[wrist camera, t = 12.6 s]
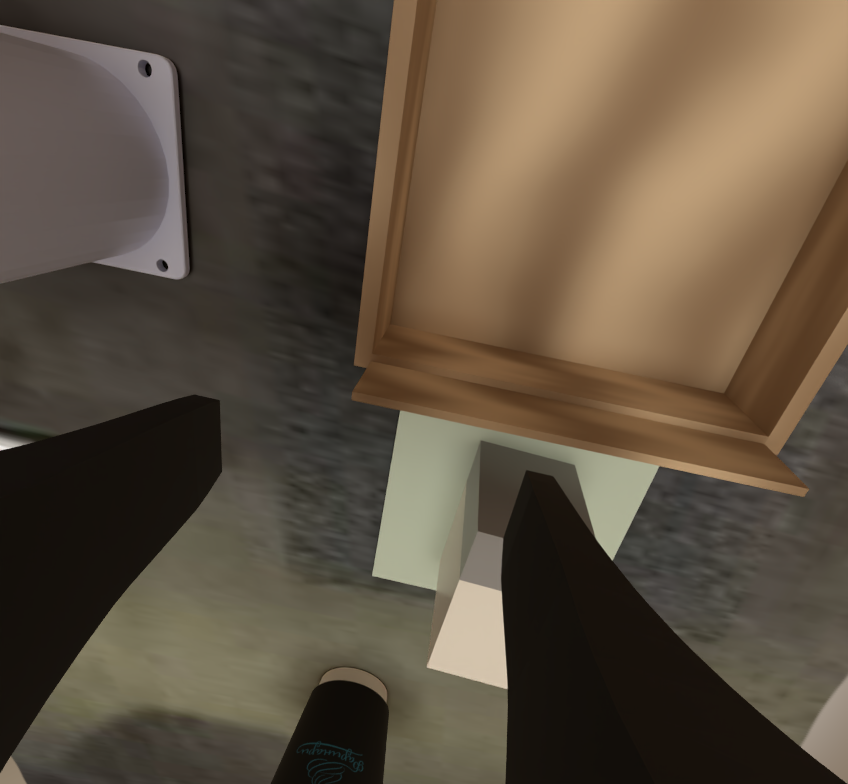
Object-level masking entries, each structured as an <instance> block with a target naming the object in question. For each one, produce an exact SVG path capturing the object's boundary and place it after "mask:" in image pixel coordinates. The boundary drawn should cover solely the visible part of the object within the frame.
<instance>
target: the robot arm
mask: <svg viewBox="0 0 848 784" xmlns="http://www.w3.org/2000/svg"><path fill="white" fill-rule="evenodd" d="M148 62H149V64H150V65H151V68H152V74H151V75H150V77H148V75H147V74H146V71H145V66H146V64H147V63H148ZM163 260H164V261H166V263H167V264H168V270H167V269H165V267H164V266H163V264H162V261H163ZM89 262H94V263H99V264H103V265H108V266H113V267H118V268H123V269H128V270H132V271H137V272H142V273H147V274H152V275H157V276H161V277H166V278H171V279H182V278H184V277H186V276H187V275H188V274H189V270H190V266H189V250H188V234H187V218H186V202H185V186H184V170H183V154H182V138H181V122H180V106H179V90H178V75H177V70H176V68H175V66H174V64H173V63H172V62H171V61H170V60H169V59H168V58H166V57H164V56H161V55H158V54H152V53H147V52H142V51H136V50H131V49H126V48H121V47H115V46H110V45H105V44H99V43H94V42H89V41H83V40H78V39H73V38H67V37H62V36H57V35H51V34H46V33H41V32H35V31H30V30H25V29H19V28H14V27H9V26H3V25H0V284H1V283H6V282H10V281H14V280H18V279H22V278H27V277H31V276H35V275H39V274H43V273H47V272H52V271H56V270H60V269H64V268H68V267H73V266H77V265H81V264H85V263H89ZM221 472H222V458H221V428H220V400H216V399H211V398H207V397H203V396H198V395H191V396H187V397H183V398H179V399H176V400H172V401H169V402H165V403H162V404H159V405H156V406H153V407H150V408H147V409H143V410H140V411H137V412H134V413H131V414H128V415H125V416H122V417H119V418H115V419H112V420H109V421H106V422H103V423H100V424H97V425H93V426H90V427H86V428H83V429H80V430H76V431H73V432H69V433H66V434H62V435H59V436H55V437H52V438H48V439H45V440H42V441H38V442H34V443H30V444H26V445H22V446H18V447H14V448H10V449H6V450H2V451H0V772H1V771H2V769H3V768H4V766H5V764H6V763H7V761H8V759H9V758H10V756H11V755H12V753H13V752H14V750H15V749H16V747H17V745H18V744H19V742H20V741H21V739H22V738H23V736H24V735H25V733H26V732H27V730H28V728H29V727H30V725H31V724H32V722H33V721H34V719H35V718H36V716H37V714H38V713H39V711H40V710H41V708H42V707H43V705H44V704H45V702H46V701H47V699H48V698H49V696H50V695H51V693H52V692H53V690H54V689H55V687H56V686H57V684H58V683H59V682H60V680H61V679H62V677H63V676H64V674H65V673H66V671H67V670H68V668H69V667H70V665H71V664H72V663H73V661H74V660H75V658H76V657H77V655H78V654H79V652H80V651H81V649H82V648H83V647H84V645H85V644H86V643H87V641H88V640H89V638H90V637H91V636H92V634H93V633H94V632H95V630H96V629H97V627H98V626H99V625H100V623H101V622H102V621H103V619H104V618H105V616H106V615H107V614H108V612H109V611H110V610H111V608H112V607H113V605H114V604H115V603H116V602H117V601H118V599H119V598H120V597H121V596H122V594H123V593H124V592H125V591H126V589H127V588H128V587H129V586H130V585H131V584H132V582H133V581H134V580H135V579H136V578H137V577H138V576H139V574H140V573H141V572H142V571H143V570H144V569H145V568H146V567H147V565H148V564H149V563H150V562H151V561H152V560H153V559H154V557H155V556H156V555H157V554H158V553H159V552H160V551H161V550H162V548H163V547H164V546H165V545H166V544H167V543H168V542H169V541H170V539H171V538H172V537H173V536H174V535H175V534H176V533H177V531H178V530H179V529H180V528H181V527H182V526H183V524H184V523H185V522H186V521H187V520H188V519H189V518H190V516H191V515H192V514H193V513H194V512H195V511H196V509H197V508H198V507H199V506H200V504H201V503H202V501H203V500H204V498H205V497H206V495H207V494H208V492H209V491H210V489H211V488H212V486H213V485H214V483H215V482H216V480H217V478H218V477H219V475H220V474H221ZM501 590H502V607H503V622H504V637H505V653H506V668H507V686H508V723H507V760H506V784H847V783H845V782H844V781H843V780H841V779H840V778H839V777H838V776H836V775H835V774H834V773H832V772H831V771H830V770H829V769H827V768H826V767H825V766H823V765H822V764H821V763H819V762H818V761H817V760H816V759H814V758H813V757H812V756H811V755H810V754H808V753H807V752H806V751H805V750H803V749H802V748H801V747H800V746H799V745H797V744H796V743H795V742H794V741H793V740H791V739H790V738H789V737H788V736H787V735H786V734H784V733H783V732H782V731H781V730H780V729H778V728H777V727H776V726H775V725H774V724H772V723H771V722H770V721H769V720H768V719H767V718H765V717H764V716H763V715H762V714H761V713H759V712H758V711H757V710H756V709H755V708H754V707H753V706H752V705H750V704H749V703H748V702H747V701H746V700H745V699H744V698H743V697H741V696H740V695H739V694H738V693H737V692H736V691H735V690H734V689H732V688H731V687H730V686H729V685H728V684H727V683H726V682H725V681H724V680H723V679H722V678H721V677H720V676H719V675H717V674H716V673H715V672H714V671H713V670H712V669H711V668H710V667H709V666H708V665H707V664H706V663H705V662H704V661H703V660H702V659H701V658H700V657H699V656H697V655H696V654H695V653H694V652H693V651H692V650H691V649H690V648H689V647H688V646H687V645H686V644H685V643H684V642H683V641H682V640H681V639H680V638H679V637H678V636H677V635H676V634H675V633H674V631H673V630H672V629H671V628H670V627H669V626H668V625H667V624H666V623H665V622H664V621H663V620H662V618H661V617H660V616H659V615H658V614H657V613H656V612H655V611H654V610H653V609H652V608H651V607H650V606H649V604H648V603H647V602H646V601H645V600H644V599H643V598H642V596H641V595H640V594H639V593H638V592H637V591H636V590H635V588H634V587H633V586H632V585H631V583H630V582H629V581H628V580H627V579H626V577H625V576H624V575H623V574H622V572H621V571H620V570H619V569H618V567H617V566H616V565H615V564H614V562H613V561H612V560H611V558H610V557H609V556H608V554H607V553H606V552H605V551H604V549H603V548H602V547H601V545H600V544H599V542H598V541H597V540H596V538H595V537H594V535H593V534H592V533H591V531H590V530H589V528H588V527H587V526H586V524H585V523H584V521H583V520H582V518H581V517H580V515H579V514H578V512H577V511H576V509H575V508H574V506H573V505H572V503H571V502H570V500H569V499H568V497H567V496H566V494H565V493H564V491H563V490H562V488H561V487H560V485H559V484H558V482H557V481H556V479H555V478H554V477H553V476H551V475H546V474H542V473H537V472H533V471H528V470H526V472H525V475H524V478H523V481H522V484H521V487H520V490H519V493H518V496H517V499H516V502H515V505H514V508H513V511H512V514H511V516H510V519H509V522H508V525H507V528H506V531H505V534H504V537H503V551H502V567H501Z"/></svg>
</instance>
